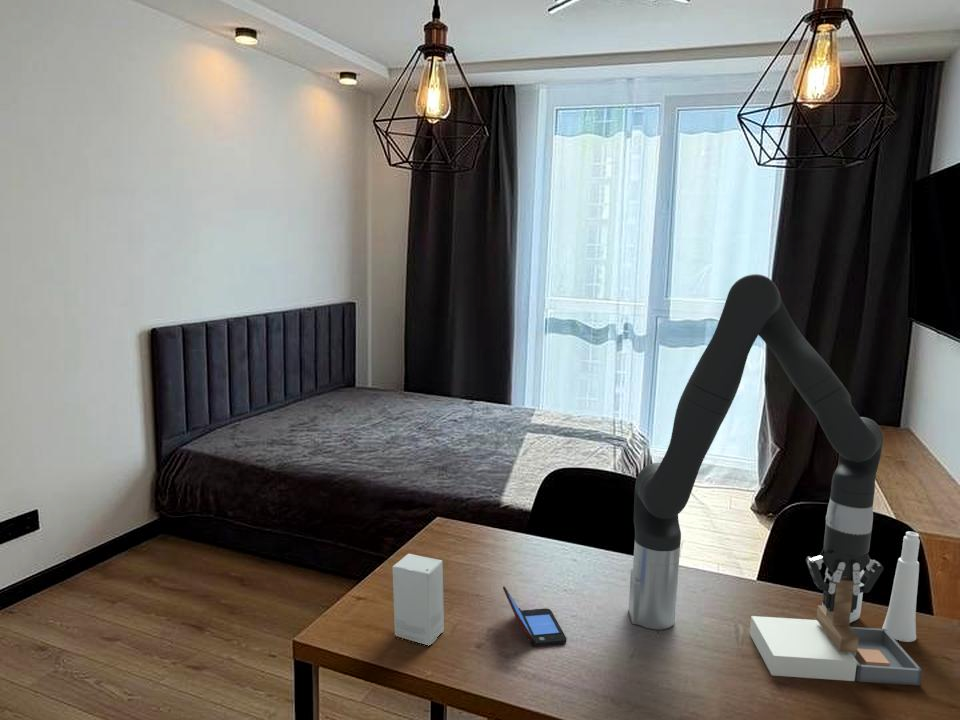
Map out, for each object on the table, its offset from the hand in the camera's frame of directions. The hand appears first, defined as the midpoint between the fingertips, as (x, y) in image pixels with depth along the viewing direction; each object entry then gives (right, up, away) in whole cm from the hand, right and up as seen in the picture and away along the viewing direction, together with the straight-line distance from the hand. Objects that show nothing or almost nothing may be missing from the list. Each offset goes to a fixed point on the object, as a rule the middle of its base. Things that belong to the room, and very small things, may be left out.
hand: (839, 609), depth 130 cm
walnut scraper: (0, -5, +1) cm, 5 cm away
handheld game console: (-58, -8, +10) cm, 59 cm away
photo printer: (+8, -8, +15) cm, 19 cm away
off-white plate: (-7, -10, +2) cm, 12 cm away
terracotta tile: (+6, -8, -1) cm, 10 cm away
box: (+7, -10, +1) cm, 12 cm away
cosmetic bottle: (+18, -9, +11) cm, 23 cm away
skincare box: (-81, -8, +7) cm, 81 cm away
